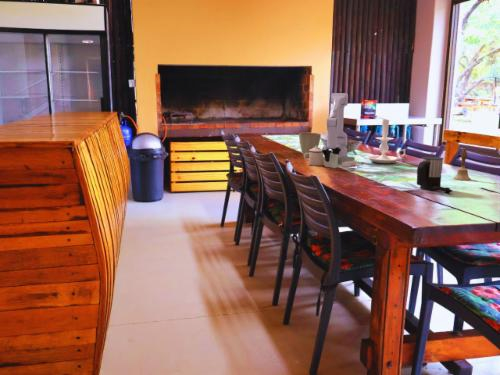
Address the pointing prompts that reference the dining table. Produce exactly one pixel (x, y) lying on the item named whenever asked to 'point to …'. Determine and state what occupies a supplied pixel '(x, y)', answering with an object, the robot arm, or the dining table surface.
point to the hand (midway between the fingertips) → (331, 161)
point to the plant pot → (308, 142)
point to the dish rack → (346, 161)
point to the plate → (332, 161)
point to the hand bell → (462, 169)
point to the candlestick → (385, 147)
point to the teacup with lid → (315, 156)
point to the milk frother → (431, 174)
